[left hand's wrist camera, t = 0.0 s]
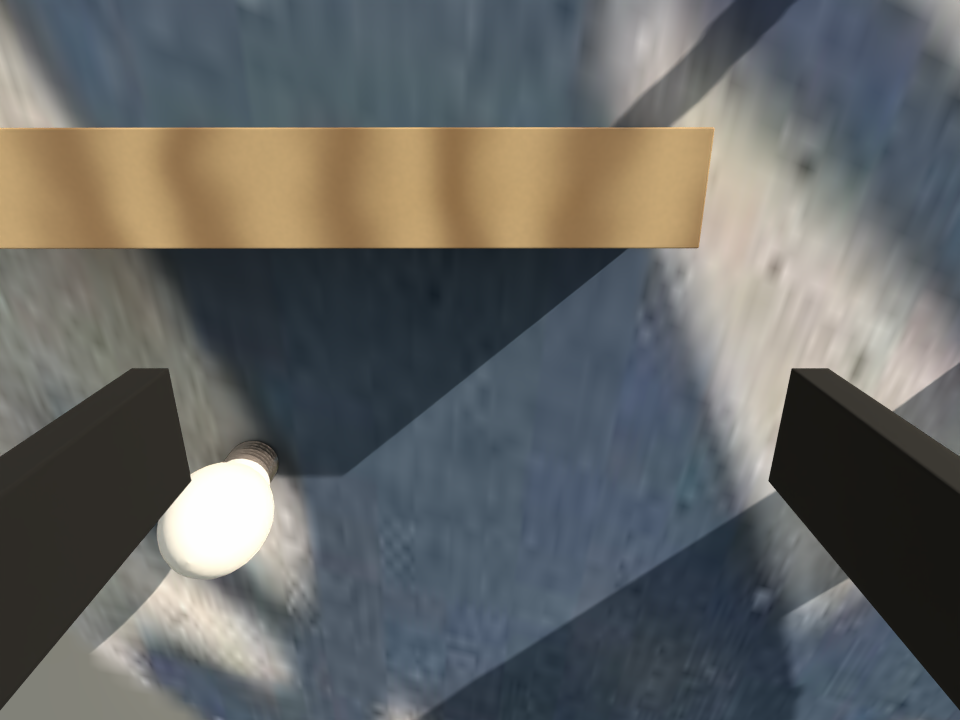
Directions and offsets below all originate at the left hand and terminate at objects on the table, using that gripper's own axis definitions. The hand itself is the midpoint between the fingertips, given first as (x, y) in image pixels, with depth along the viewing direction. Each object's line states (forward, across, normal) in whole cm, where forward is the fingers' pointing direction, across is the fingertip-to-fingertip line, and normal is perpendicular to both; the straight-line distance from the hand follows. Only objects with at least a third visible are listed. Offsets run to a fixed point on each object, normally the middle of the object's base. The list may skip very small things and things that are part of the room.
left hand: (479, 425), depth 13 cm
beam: (+28, -7, +3) cm, 29 cm away
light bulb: (+28, -17, -18) cm, 37 cm away
